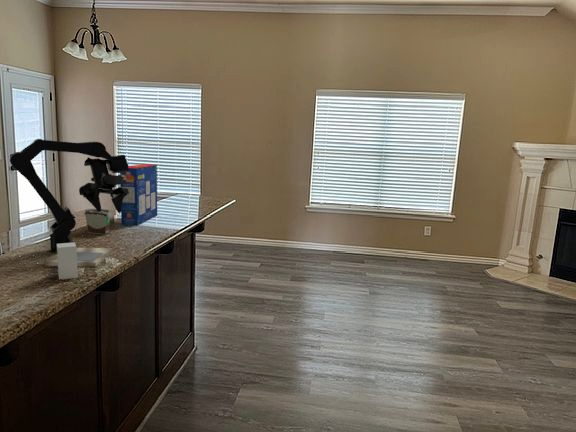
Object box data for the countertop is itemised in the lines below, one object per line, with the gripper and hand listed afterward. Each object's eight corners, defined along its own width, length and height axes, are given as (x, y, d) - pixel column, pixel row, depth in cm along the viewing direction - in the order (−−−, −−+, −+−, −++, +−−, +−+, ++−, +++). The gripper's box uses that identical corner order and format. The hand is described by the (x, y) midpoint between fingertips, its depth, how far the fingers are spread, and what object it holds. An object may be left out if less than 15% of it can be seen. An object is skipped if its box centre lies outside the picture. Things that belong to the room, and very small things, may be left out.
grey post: (58, 274, 131) (56, 243, 129) (76, 272, 133) (74, 242, 132) (59, 279, 127) (57, 247, 125) (77, 277, 129) (76, 246, 127)
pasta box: (143, 214, 232) (142, 164, 227) (157, 215, 232) (156, 164, 227) (121, 224, 204) (119, 167, 199) (137, 225, 204) (136, 168, 199)
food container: (117, 232, 189) (117, 210, 187) (108, 235, 183) (107, 212, 181) (94, 229, 192) (94, 208, 190) (85, 232, 186) (84, 210, 184)
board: (45, 265, 139) (45, 261, 138) (67, 251, 156) (67, 246, 156) (95, 266, 140) (95, 261, 140) (112, 252, 158) (112, 247, 158)
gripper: (94, 161, 148) (105, 202, 145) (134, 169, 165) (143, 205, 163) (73, 174, 152) (83, 214, 150) (114, 180, 169) (123, 216, 167)
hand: (110, 212), depth 157 cm, fingers open, 9 cm apart
